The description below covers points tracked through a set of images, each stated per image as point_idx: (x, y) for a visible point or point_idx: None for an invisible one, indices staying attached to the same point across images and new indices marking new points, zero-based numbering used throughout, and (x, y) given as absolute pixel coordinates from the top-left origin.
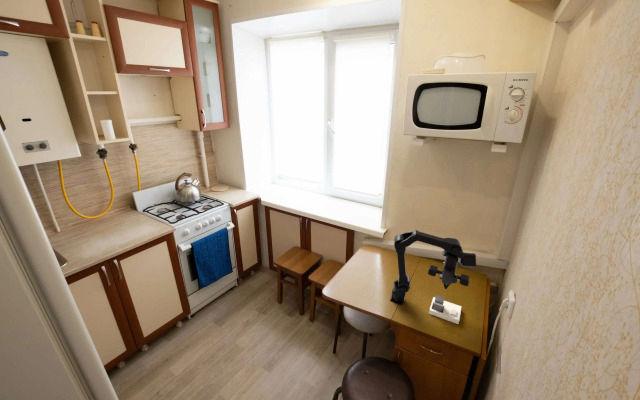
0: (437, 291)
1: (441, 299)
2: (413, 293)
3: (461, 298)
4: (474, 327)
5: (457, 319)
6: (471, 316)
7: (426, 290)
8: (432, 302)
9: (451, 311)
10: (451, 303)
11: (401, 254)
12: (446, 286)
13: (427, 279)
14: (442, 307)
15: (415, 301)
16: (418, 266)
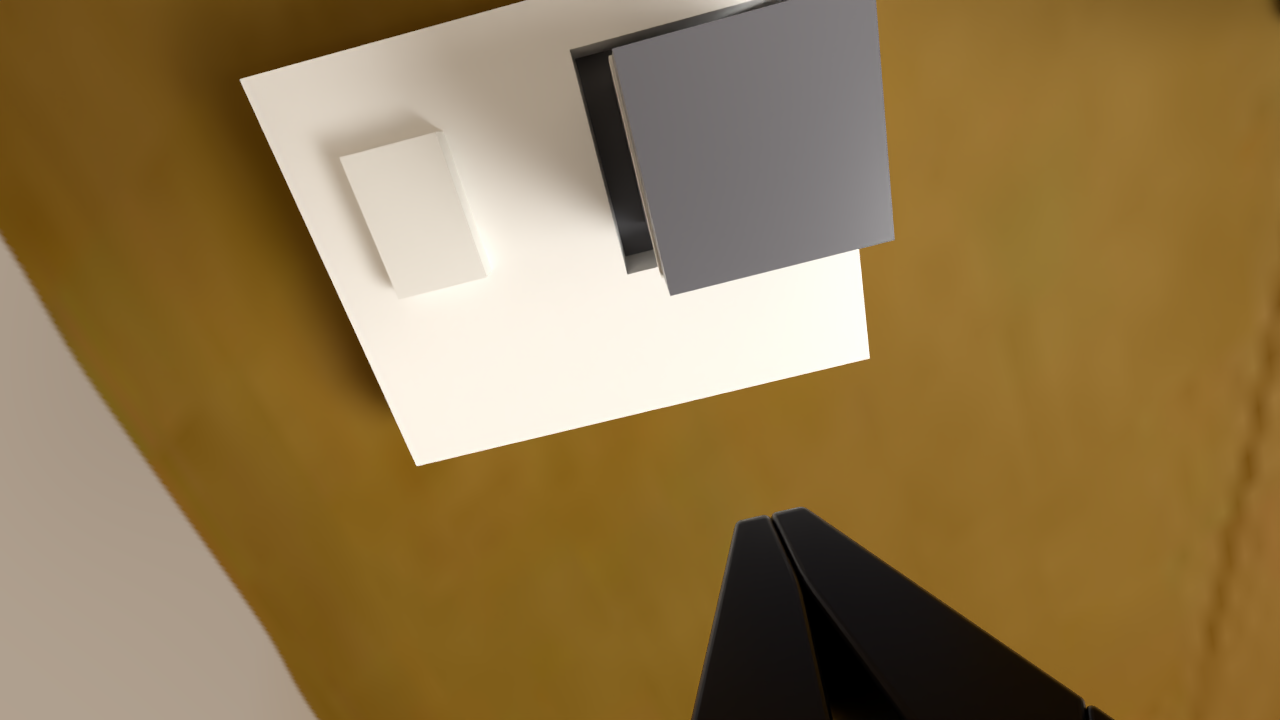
0: None
1: (710, 161)
2: (1150, 269)
3: (540, 629)
4: (107, 225)
5: (278, 82)
6: (275, 416)
7: (977, 468)
8: None
9: (454, 196)
10: (564, 419)
11: None
12: (792, 630)
13: None
14: (652, 255)
15: (1084, 99)
16: None
